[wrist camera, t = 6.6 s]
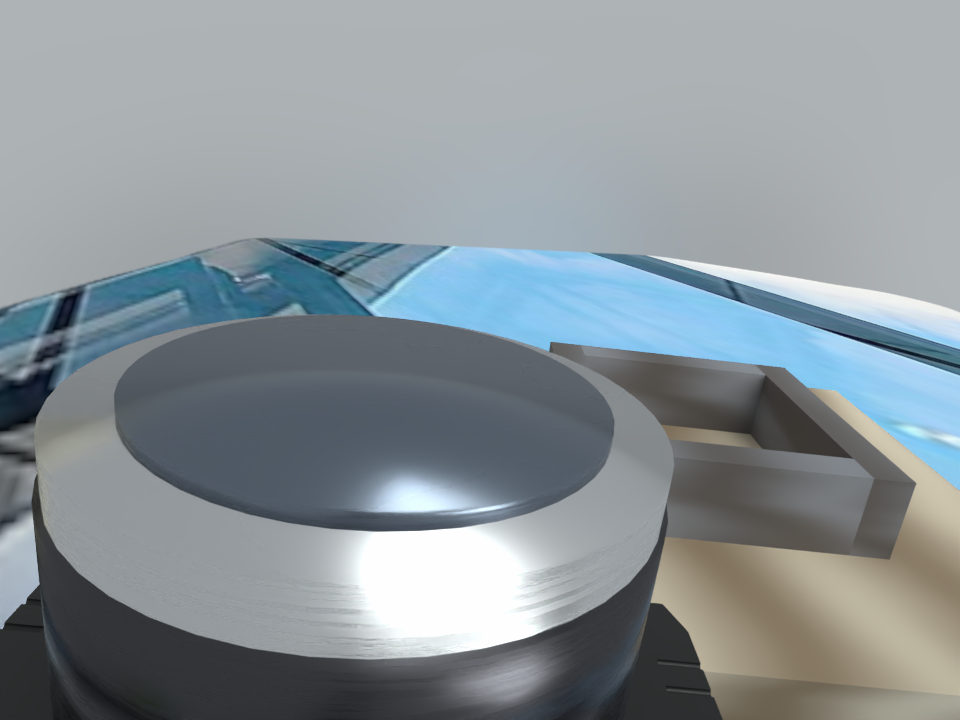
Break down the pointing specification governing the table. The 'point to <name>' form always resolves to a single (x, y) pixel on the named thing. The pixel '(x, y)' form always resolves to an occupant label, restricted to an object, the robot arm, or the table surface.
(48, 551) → the lens
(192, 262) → the table surface
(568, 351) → the mount board
